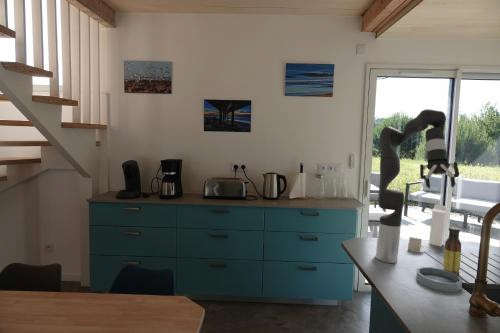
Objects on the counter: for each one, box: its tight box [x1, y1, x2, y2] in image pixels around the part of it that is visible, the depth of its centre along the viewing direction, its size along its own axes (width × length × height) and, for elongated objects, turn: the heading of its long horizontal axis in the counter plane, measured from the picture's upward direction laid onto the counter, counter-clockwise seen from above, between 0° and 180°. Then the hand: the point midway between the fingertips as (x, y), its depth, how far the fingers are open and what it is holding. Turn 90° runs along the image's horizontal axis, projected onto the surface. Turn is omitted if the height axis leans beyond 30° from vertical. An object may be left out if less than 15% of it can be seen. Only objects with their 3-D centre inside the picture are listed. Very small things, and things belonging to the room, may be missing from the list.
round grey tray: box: [415, 266, 463, 293], centre depth 134 cm, size 16×16×3 cm
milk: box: [428, 204, 448, 247], centre depth 185 cm, size 6×6×22 cm
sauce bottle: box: [442, 226, 462, 276], centre depth 145 cm, size 7×6×20 cm
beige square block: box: [407, 236, 425, 253], centre depth 173 cm, size 3×7×7 cm, turn 58°
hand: (440, 187), depth 139 cm, fingers open, 8 cm apart
